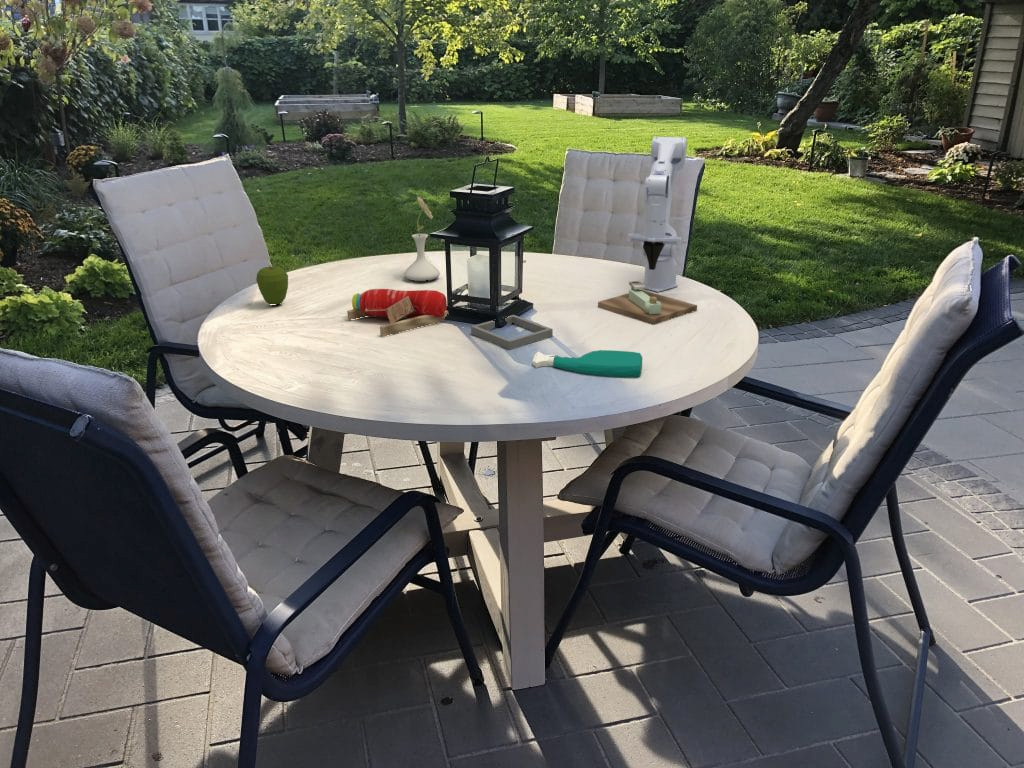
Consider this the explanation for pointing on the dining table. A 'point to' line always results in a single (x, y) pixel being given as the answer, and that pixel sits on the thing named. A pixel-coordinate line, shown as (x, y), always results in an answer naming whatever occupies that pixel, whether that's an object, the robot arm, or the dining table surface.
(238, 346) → the dining table surface
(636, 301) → the link
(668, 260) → the robot arm
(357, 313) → the bottle cradle
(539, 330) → the mousse rim
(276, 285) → the apple
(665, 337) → the dining table surface
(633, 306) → the board
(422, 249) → the flower in vase
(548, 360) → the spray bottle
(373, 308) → the water bottle
